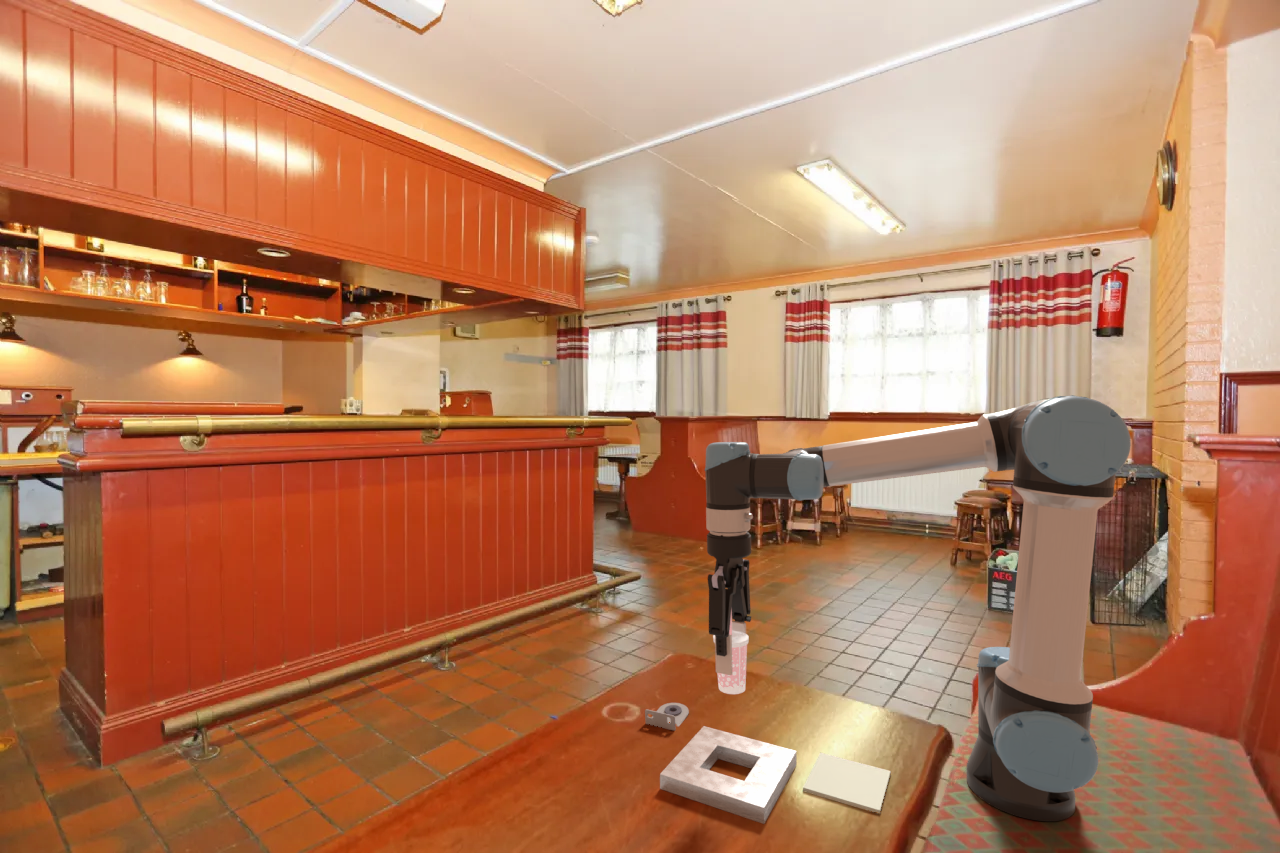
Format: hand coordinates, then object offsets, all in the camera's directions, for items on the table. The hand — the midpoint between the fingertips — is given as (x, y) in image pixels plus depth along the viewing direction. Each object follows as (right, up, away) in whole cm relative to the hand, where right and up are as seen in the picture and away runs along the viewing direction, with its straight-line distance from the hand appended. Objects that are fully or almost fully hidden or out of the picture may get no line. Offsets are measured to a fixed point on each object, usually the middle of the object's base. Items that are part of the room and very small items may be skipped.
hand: (731, 665), depth 104 cm
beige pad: (+19, -19, -2) cm, 27 cm away
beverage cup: (0, -4, 0) cm, 4 cm away
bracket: (-10, -20, +21) cm, 31 cm away
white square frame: (0, -19, 0) cm, 19 cm away
